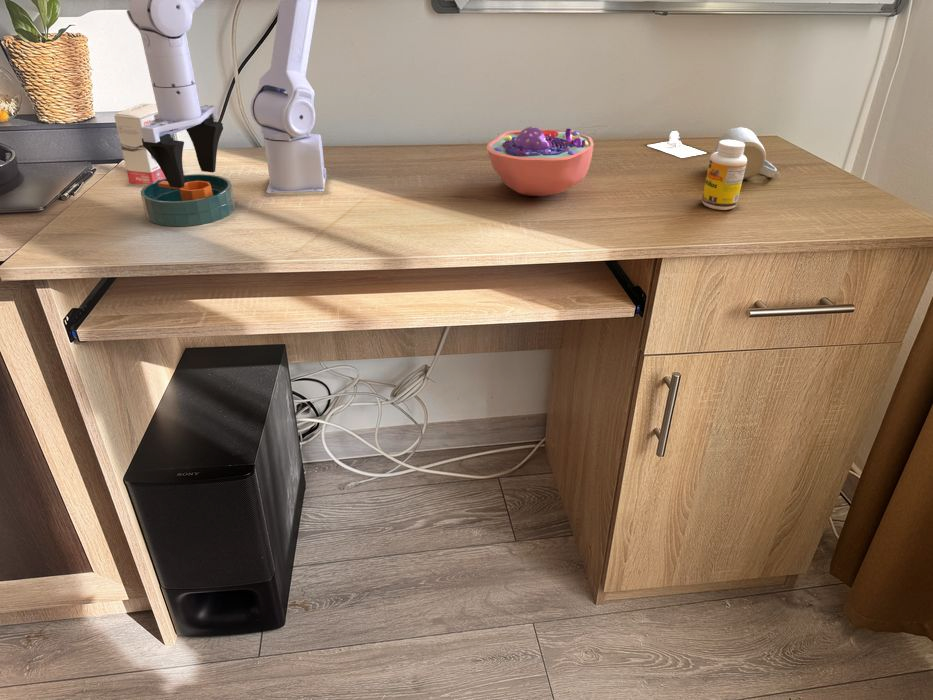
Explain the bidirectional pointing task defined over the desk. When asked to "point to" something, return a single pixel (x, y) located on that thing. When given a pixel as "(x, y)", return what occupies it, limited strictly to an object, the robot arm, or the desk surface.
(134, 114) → the ink box
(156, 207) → the bowl
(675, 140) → the adhesive hook
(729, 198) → the supplement bottle
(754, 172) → the ceramic mug
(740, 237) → the desk surface
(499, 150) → the cell model
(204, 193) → the scoop
